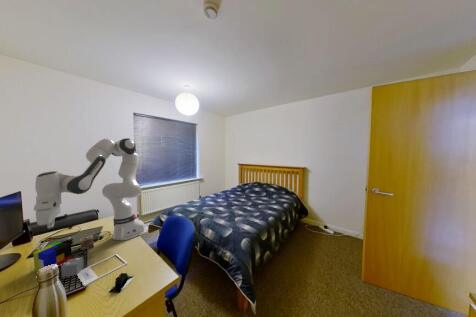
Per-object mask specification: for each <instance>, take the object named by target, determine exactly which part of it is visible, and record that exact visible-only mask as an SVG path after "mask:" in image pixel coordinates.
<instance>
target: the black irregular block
mask: <svg viewBox="0 0 476 317" xmlns="http://www.w3.org/2000/svg"><path fill="white" fill-rule="evenodd" d="M133 278H135V275H133V276H131V275H128V273H127V272H125V273H124V272H121V273H120V274H119V275H118V276H117V277H115V280H114V281H115V283H114V284H115V285H114V286H113V287H112V288H111V289H110V290H109V291H108V293H111V294H112V293H113V294H114V293H115V294H120V293H122V291H123V290H125V289H126V287H127V286H128V285H129V283H130V282H132V280H133Z"/></svg>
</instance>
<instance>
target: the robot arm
mask: <svg viewBox="0 0 476 317" xmlns="http://www.w3.org/2000/svg"><path fill="white" fill-rule="evenodd" d="M136 147H137V146H136V143H135V140H133V139H131V138H125V137H124V138H122V139H120V140H117V141H113V140H112V139H109V138H103V139H100V140H99V141H97V142H96V143H95V144H94V145H93V146H92V147H90V148H89V149H88V151H87V152H86V154H85V157H86V160H87V161H88V162H90V164H89V165H88V166H87V168H86V169H85V170H84V171H83V172H82V173H81V174H79V175H76V176H75V175H68V174H63V173H60V172H58V171H56V170H55V171H54V170H53V171H47V172H46V171H45V172H42V173H40V174H38V175H37V176H36V178H35V184H34V185H35V187H34V188H35V192H36V198H35V200H36V201H35V205H33V211H34V212H35V218H36V225H38V226H45V225H46V226H47V229H52V228H54V226H55V220H56V217H57V216H59V214H60V213H61V210H62V209H61V204H62V194H63V193H68V194H74V195H75V194H76V195H82V194H86V193H87V192H88V191H89V190H90V189H91V187H92V186H93V183H94V180H95V178H96V177H97V176H98V175H99V173H100V172H101V170H102V169H103V168H104V166H105V165H106V162H107V160H108V159H109V157H110V156H111V155H112V156H113V157H114V156H115V157H121V158H122V161H121V163H120V166H119V169H118V176H119V177H120V178H122V182H112V183H107V184H105V185H104V186H103V187H102V189H101V190H102V191H101V192H102V196H103V197H105V198H106V199H108V201H109V202H110V204H111V205H112V209H113V222H112V223H113V234H112V236H111V237H112V239H113V240H115V241H122V242H123V241H126V240H130V239H133V238H136V237H139V236H141V235H145V234H147V233H148V232H149V227H148V226H147V225H145V222H144V221H143V220H140V219H139V218H137V215H136V214H135V213H133V205H132V203H131V202H129V201H128V200H127V199H133V198H137V197H139V195H141V192H142V186H141V184H139V183H138V182H137V179H136V176H137V171H138V166H139V162H140V160H139V159H140V158H139V157H140V156H139V154H137V153H136V152H137V149H136ZM138 235H139V236H138Z"/></svg>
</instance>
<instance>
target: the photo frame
mask: <svg viewBox="0 0 476 317" xmlns="http://www.w3.org/2000/svg"><path fill="white" fill-rule="evenodd" d="M114 256H116V257H117V258H119V259H120V260H121V261H122V262H123V264H122V265H120V266H117V267H115V268H114V269H112V270H110V271H108V272H106V273H104V274H102V275H100V276H98V275H97V274H96V273H95V271H94V270H93V269H92V267H94V266H96V265H99V264H101V263H102V262H105V261H107V260H109V259H112V258H114ZM126 265H128V262H127V261H126V260H124V259H123V258H122V257H121V256H120V255H118V254H117V253H115V254H113V255H110V256H109V257H106V258H105V259H102V260H99V261H98V262H95V263H94V264H91V265H89V266H87V267H84V268H83V269H82V270H81V271H80V272H79V273H78V274H77V276H78V277H77V276H76V277H77V278H78V280H79V279H80V280H79V281H80V283H81V282H82V283H81V284H82V286H83V287H84V286H85V287H86V286H89V285H90V284H92V283H94V282H96V281H98V280H99V279H102V278H103V277H105V276H107V275H109V274H111V273H113V272H115V271H116V270H117V271H118V270H119V269H121V268H123V267H124V266H126Z"/></svg>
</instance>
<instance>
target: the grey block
mask: <svg viewBox="0 0 476 317" xmlns="http://www.w3.org/2000/svg"><path fill="white" fill-rule="evenodd" d="M84 266H85V264H84V256H81V257H76V258H72V259H69V260H68V261H67V262H66V263H65V264H64V265H63V266H61V267H60V269H61V270H60V271H61V278H62V277H65V276H72V277H74V276H73V275H77V274H78V273H79V272H80V271H81V270H82V269H84V268H85V267H84ZM83 267H84V268H83Z"/></svg>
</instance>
